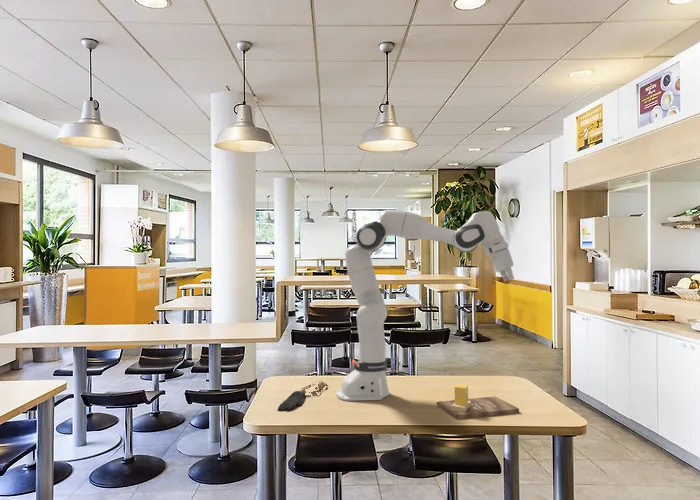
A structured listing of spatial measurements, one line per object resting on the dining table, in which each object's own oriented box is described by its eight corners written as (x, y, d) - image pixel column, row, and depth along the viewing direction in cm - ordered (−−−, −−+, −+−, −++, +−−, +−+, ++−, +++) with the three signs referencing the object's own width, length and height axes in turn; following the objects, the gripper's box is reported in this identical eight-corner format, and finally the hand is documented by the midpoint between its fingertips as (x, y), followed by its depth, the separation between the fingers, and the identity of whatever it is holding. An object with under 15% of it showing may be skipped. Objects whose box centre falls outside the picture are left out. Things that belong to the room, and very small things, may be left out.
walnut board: (455, 419, 177) (455, 415, 177) (436, 405, 192) (436, 401, 192) (519, 412, 184) (519, 408, 184) (495, 400, 199) (495, 396, 199)
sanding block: (465, 412, 180) (464, 390, 180) (451, 410, 182) (451, 388, 182) (471, 405, 188) (470, 384, 188) (458, 403, 190) (458, 382, 190)
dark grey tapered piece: (295, 413, 185) (295, 405, 185) (276, 411, 186) (276, 403, 186) (312, 396, 206) (312, 389, 206) (295, 395, 208) (295, 387, 208)
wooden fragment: (317, 399, 202) (317, 396, 202) (292, 397, 205) (292, 395, 205) (334, 383, 227) (334, 380, 227) (312, 381, 230) (312, 379, 230)
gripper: (484, 253, 208) (497, 284, 206) (492, 247, 188) (506, 281, 186) (498, 248, 208) (511, 278, 206) (508, 241, 188) (522, 275, 186)
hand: (509, 280), depth 196 cm, fingers open, 8 cm apart
